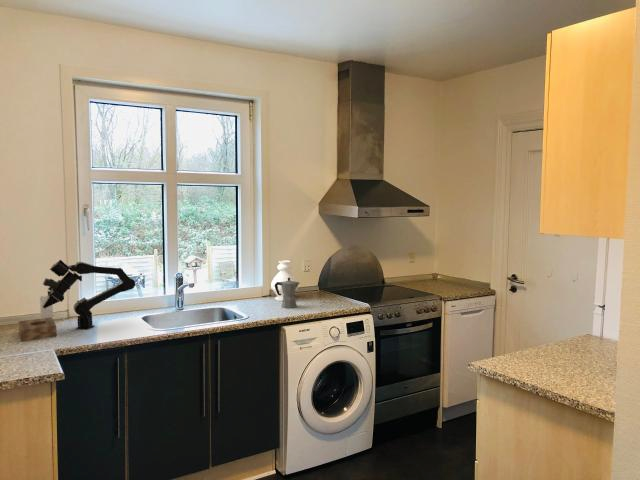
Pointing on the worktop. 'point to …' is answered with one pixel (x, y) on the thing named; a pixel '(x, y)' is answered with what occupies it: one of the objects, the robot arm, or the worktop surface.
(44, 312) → the aluminium bar
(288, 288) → the coffeepot
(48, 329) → the walnut pocket block
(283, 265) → the decorative vase
